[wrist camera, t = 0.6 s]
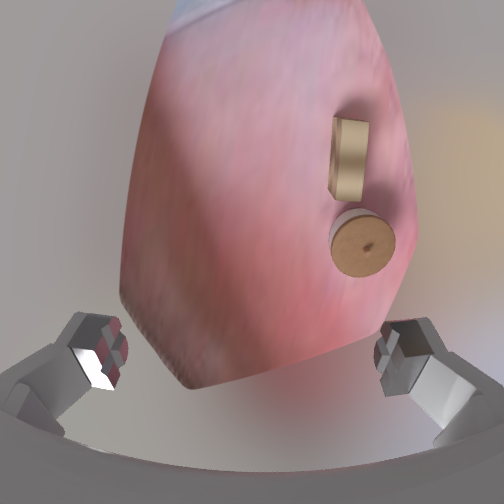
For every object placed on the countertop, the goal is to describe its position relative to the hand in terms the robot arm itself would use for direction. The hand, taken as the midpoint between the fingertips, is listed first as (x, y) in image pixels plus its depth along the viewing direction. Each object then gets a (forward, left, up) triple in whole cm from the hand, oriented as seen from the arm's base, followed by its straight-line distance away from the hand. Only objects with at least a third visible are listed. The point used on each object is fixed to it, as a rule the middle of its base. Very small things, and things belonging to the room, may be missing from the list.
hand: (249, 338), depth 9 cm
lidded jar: (+15, +16, -41) cm, 47 cm away
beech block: (+2, +13, -41) cm, 43 cm away
